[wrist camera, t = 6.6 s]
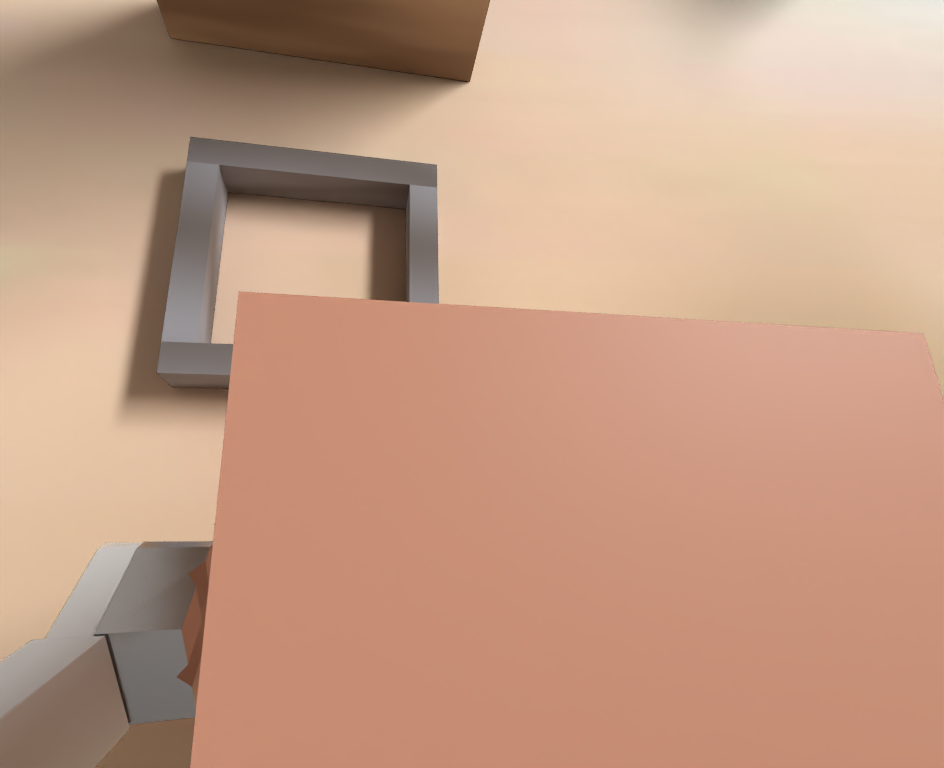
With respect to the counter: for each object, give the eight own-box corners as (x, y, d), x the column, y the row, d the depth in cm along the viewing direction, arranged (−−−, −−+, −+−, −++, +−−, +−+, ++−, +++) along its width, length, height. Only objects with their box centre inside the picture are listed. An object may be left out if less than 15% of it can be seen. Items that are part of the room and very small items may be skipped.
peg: (461, 643, 17) (1189, 1240, 2) (329, 652, 16) (94, 1688, 1) (458, 513, 18) (923, 332, 3) (335, 515, 18) (239, 290, 3)
